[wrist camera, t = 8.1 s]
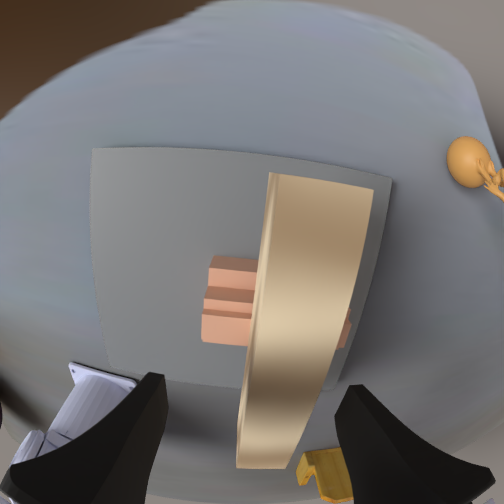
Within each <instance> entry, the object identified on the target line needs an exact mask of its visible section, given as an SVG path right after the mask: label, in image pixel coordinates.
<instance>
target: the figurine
mask: <svg viewBox="0 0 504 504" xmlns="http://www.w3.org/2000/svg"><path fill="white" fill-rule="evenodd" d="M447 165H448V169H449V171H450V173H451V175H452V176H453V178H454V179H455V180H456V181H457V182H458V183H459V184H461V185H463V186H465V187H468V188H476V187H479V186H481V185H483V184H484V183H486V184H487V185H488V186H489V187H487V186H485V185H484V187H485V188H487V189H488V190H489V191H490V192H491V193H493V194H494V195H496V196H497V197H499V198H500V199H501V200H502V201H503V202H504V193H502V192H501V191H500V190H499V188H498V186H501V187H504V168H502V169H500V170H499V171H498V173H496V172H495V169H494V164H493V162H492V161H491V158H490V155H489V153H488V151H487V149H486V147H485V146H484V145H483V144H482V143H481V142H480V141H478V140H477V139H475V138H473V137H468V136H463V137H459V138H457V139H456V140H454V141H453V142H452V143H451V145H450V147H449V149H448V152H447ZM490 175H491V176H492V177H493V178H492V179H491V177H490ZM501 179H502V180H501ZM486 181H487V182H486Z"/></svg>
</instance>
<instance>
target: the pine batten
mask: <svg viewBox="0 0 504 504" xmlns="http://www.w3.org/2000/svg"><path fill="white" fill-rule="evenodd" d="M373 192H374V190H372V189H368V188H363V187H358V186H353V185H348V184H343V183H337V182H332V181H326V180H320V179H314V178H307V177H301V176H294V175H287V174H279V173H271V172H269V179H268V188H267V196H266V204H265V213H264V221H263V229H262V237H261V245H260V254H259V262H258V270H257V278H256V285H255V293H254V301H253V309H252V317H251V325H250V332H249V340H248V348H247V355H246V363H245V370H244V378H243V385H242V393H241V400H240V407H239V414H238V422H237V458H236V468H247V469H285V468H286V466H287V464H288V462H289V460H290V458H291V456H292V454H293V452H294V450H295V448H296V446H297V444H298V442H299V440H300V438H301V436H302V433H303V431H304V429H305V427H306V424H307V422H308V420H309V418H310V415H311V413H312V411H313V408H314V406H315V403H316V401H317V398H318V396H319V393H320V391H321V388H322V386H323V383H324V380H325V378H326V375H327V372H328V370H329V367H330V364H331V361H332V358H333V355H334V352H335V349H336V346H337V343H338V340H339V337H340V334H341V331H342V328H343V324H344V321H345V318H346V314H347V311H348V307H349V304H350V300H351V297H352V293H353V289H354V285H355V281H356V277H357V273H358V269H359V265H360V261H361V256H362V252H363V247H364V242H365V237H366V232H367V227H368V222H369V217H370V211H371V205H372V199H373Z"/></svg>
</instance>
